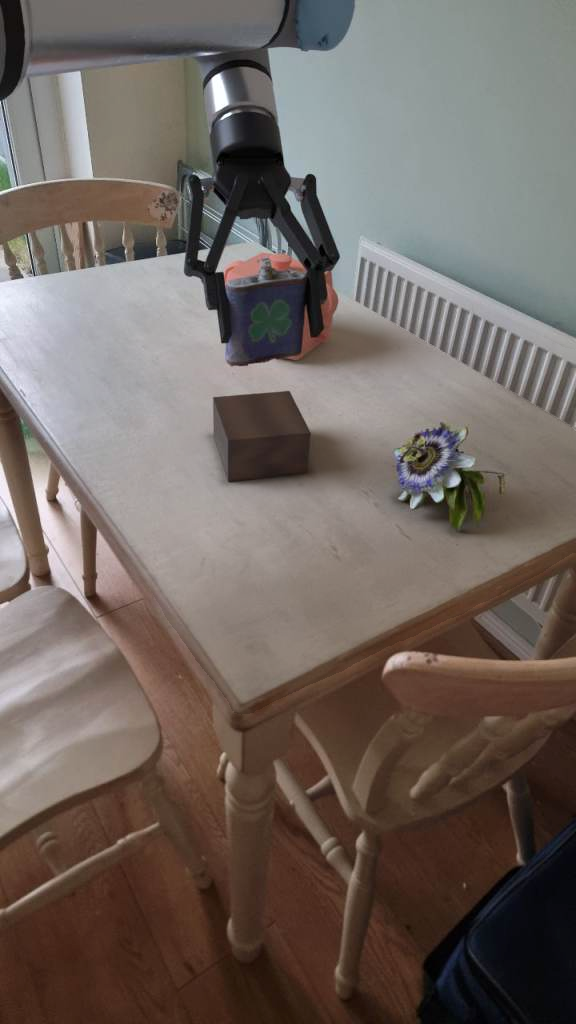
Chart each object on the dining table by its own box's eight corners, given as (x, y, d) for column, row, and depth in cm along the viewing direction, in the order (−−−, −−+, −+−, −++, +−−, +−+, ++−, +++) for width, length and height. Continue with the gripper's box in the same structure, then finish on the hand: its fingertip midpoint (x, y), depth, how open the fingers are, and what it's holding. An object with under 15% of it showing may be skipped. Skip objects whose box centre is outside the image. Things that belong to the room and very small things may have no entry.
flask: (230, 369, 74) (231, 270, 68) (220, 357, 76) (219, 260, 69) (306, 355, 78) (314, 259, 71) (294, 344, 80) (300, 250, 73)
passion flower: (398, 534, 86) (370, 442, 84) (474, 505, 88) (448, 414, 86) (440, 547, 75) (408, 441, 73) (525, 512, 77) (497, 409, 75)
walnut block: (227, 482, 84) (227, 440, 80) (213, 436, 91) (212, 396, 87) (307, 473, 86) (311, 432, 82) (287, 429, 93) (289, 390, 89)
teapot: (181, 353, 108) (176, 266, 100) (246, 311, 122) (247, 231, 113) (292, 390, 101) (299, 299, 93) (349, 341, 115) (359, 258, 106)
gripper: (331, 151, 80) (359, 341, 78) (139, 152, 75) (165, 354, 73) (351, 108, 73) (382, 316, 71) (140, 105, 68) (169, 329, 66)
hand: (272, 335), depth 72 cm, fingers closed on flask, 9 cm apart
